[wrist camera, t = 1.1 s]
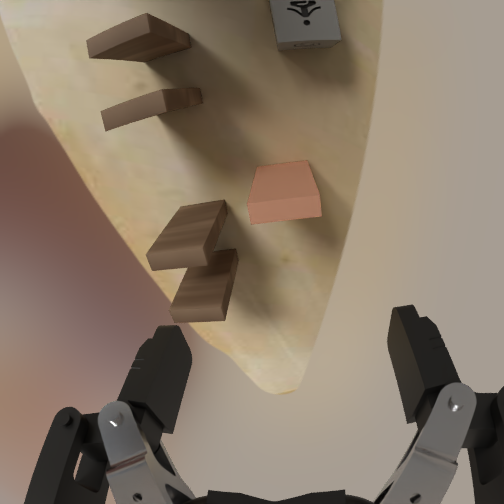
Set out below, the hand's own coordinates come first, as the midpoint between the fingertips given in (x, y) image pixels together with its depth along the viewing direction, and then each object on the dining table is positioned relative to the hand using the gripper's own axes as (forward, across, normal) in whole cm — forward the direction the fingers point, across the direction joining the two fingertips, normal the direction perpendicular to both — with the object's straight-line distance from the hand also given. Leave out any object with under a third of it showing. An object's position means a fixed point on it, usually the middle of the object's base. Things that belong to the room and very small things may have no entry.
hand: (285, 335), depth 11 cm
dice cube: (+22, -4, -14) cm, 26 cm away
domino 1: (+22, +9, -15) cm, 28 cm away
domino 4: (+22, +9, +9) cm, 25 cm away
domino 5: (+22, 0, 0) cm, 22 cm away
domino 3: (+22, +9, +3) cm, 23 cm away
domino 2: (+22, +9, -9) cm, 25 cm away
